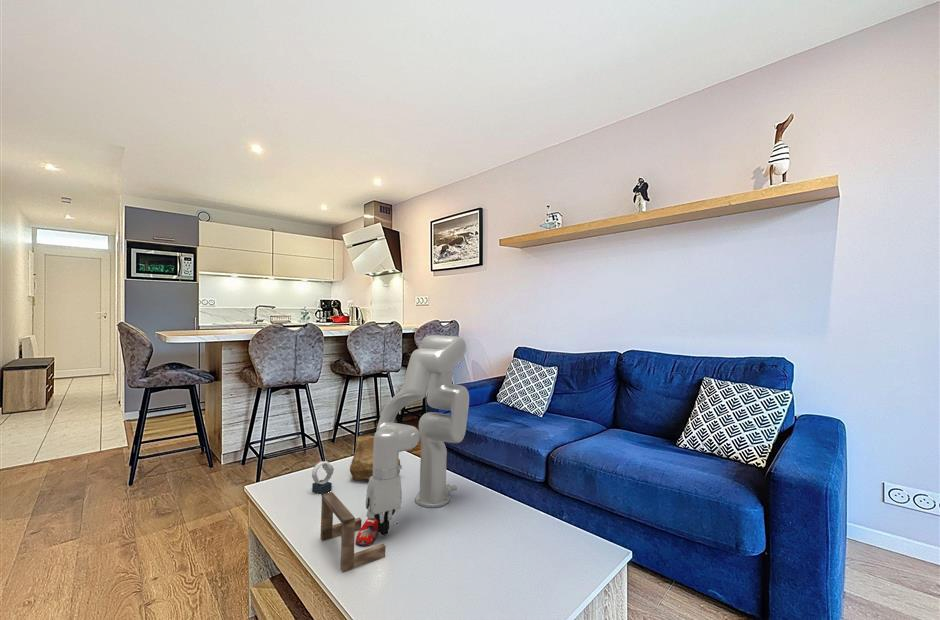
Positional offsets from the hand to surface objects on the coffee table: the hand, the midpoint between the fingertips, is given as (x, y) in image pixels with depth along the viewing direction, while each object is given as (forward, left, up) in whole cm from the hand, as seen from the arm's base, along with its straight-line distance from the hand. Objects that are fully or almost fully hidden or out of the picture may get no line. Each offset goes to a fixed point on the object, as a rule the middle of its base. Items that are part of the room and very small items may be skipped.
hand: (383, 533), depth 120 cm
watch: (+6, -42, -2) cm, 42 cm away
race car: (+3, -4, -2) cm, 5 cm away
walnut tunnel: (+10, 0, -1) cm, 10 cm away
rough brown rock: (-14, -45, -2) cm, 47 cm away
